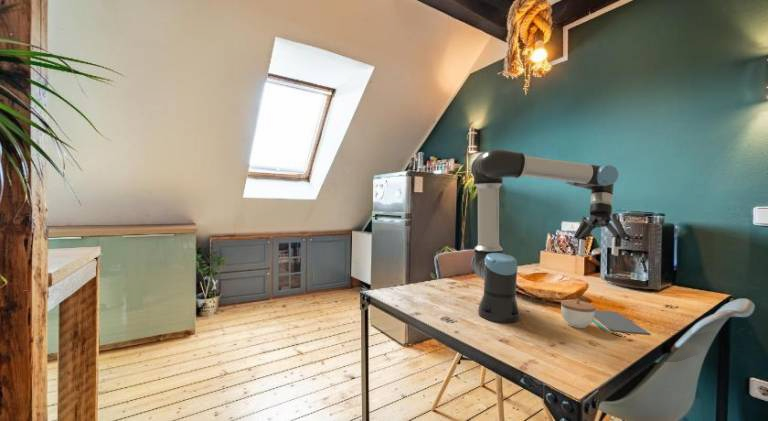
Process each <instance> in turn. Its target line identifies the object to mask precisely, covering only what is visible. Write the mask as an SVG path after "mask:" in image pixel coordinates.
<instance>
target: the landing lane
mask: <svg viewBox="0 0 768 421" xmlns="http://www.w3.org/2000/svg"><path fill="white" fill-rule="evenodd" d="M592 323H593V324H595V326H597V327H598V328H599V329H601V330H602V332H608V333H609V332H617V333H618V332H619V333H627V334H639V335H651V333H650V332H649V331H647V330H645V329H644V328H642V327H641V326H639V325H638V324H636V323H635V322H633V321H632V320H630V319H629V318H627V317H626V316H624V315H622V314H621V313H620V312H618V311H612V310H602V309H601V310H597V309H595V314H594V319H593V321H592Z"/></svg>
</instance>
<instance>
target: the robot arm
mask: <svg viewBox="0 0 768 421" xmlns="http://www.w3.org/2000/svg"><path fill="white" fill-rule="evenodd" d="M470 172H471V174H472V176H473V186H475V187H476V189H477V245H476V246H474V248H473V250H474V252H473V253H474V255H473V256H472V258H471V267H472V269H473V271H474V274H475V275H477V276H478V277H479V278H481V279H482V280H483V295H482V297H481V299H480V303H479V305H478V312H477V314H478V315H479V316H480V317H481V318H482V319H485V320H488V321H491V322H496V323H502V324H505V323H507V324H512V323H516V322H518V321H520V318H521V313H520V309H519V305H518V302H517V298H516V296H517V277H518V276H517V275H518V268H519V267H518V261H517V259H516V258H515V257H514V256H513V255H510V254H506V253H504V249H503V248H502V246H501V245H500V187H501V186H502V185H503V184H504V183H503V182H504V179H505V178H513V179H519V178H521V177H525V178H536V179H543V180H551V181H560V182H564V184H566V185H569V186H574V187H577V188H583V189H585V190H591V193H590V194H591V196H590V205H589V206H590V207H589V214H590V215H589V217H585V216H583V217H582V219H581V223H580V225H579V226H578V227H577V230H576V231H575V233H574V235H573V239H576V240H577V248H578V255H580V256H583V257H584V256H585V250H586V240H585V239H586V238H587V237H588V236H589V234H590V233H591V232H592V231H593V230H595V229H596V228H605V227H606V229H608V230H609V232H610V233H611V234H612V235H613V237H612V241H611V242H612V243H611V255H613V256H615V257H618V256H619V248H621V246H622V245H621V244H622V239H623V238H627V237H628V234H627V232H626V230H625V229H624V226H623V224H622V222H621V221H620V219H621V218H620V215H618V214H617V213H612V212H613V211H612V210H613V206H612V205H613V197H614V196H613V194H614V186H615V185H614V184H615V183H616V182H617V180H618V179H619V171H618V169H617V168H616V167H615V166H613V165H611V164H603V165H596V164H589V163H580V162H575V161H574V162H572V161H567V160H558V159H550V158H542V157H536V156H535V157H534V156H527V155H526V154H525V153H523V152H518V151H512V150H506V149H499V148H496V149H490V150H487V151H486V152H483V153H480V154H478V155H477V156H476V157H475V158H474V160H473V161H472V162H471V165H470ZM611 220H612V222H613V224H614V225H615V227H614V226H613V225H612V223H610V221H611ZM615 228H616V229H615Z"/></svg>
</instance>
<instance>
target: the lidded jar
mask: <svg viewBox="0 0 768 421" xmlns="http://www.w3.org/2000/svg"><path fill="white" fill-rule="evenodd" d="M560 305H561V307H560V309H561V310H560V311H561V312H560V313H561V315H562V318H563V320H564V321H565V322H566V323H567V325H568V326H571V327H572V328H576V329H586V328H587V327H589V326H590V325H591V324H592V323H593V322H592V321H593V319H595V318H594V314H595V310H596V306H595V305H593V304H592V303H590V302H586V301H584V300H583V301H582V300H580V299H577V298H576V299H563V300H561V301H560Z"/></svg>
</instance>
